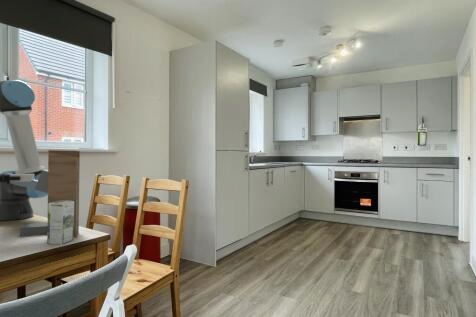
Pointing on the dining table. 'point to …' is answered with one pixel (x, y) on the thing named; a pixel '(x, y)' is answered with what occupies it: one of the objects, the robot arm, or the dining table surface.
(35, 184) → the mallet
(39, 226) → the board
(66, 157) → the stand
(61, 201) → the syrup box
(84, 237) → the dining table surface
